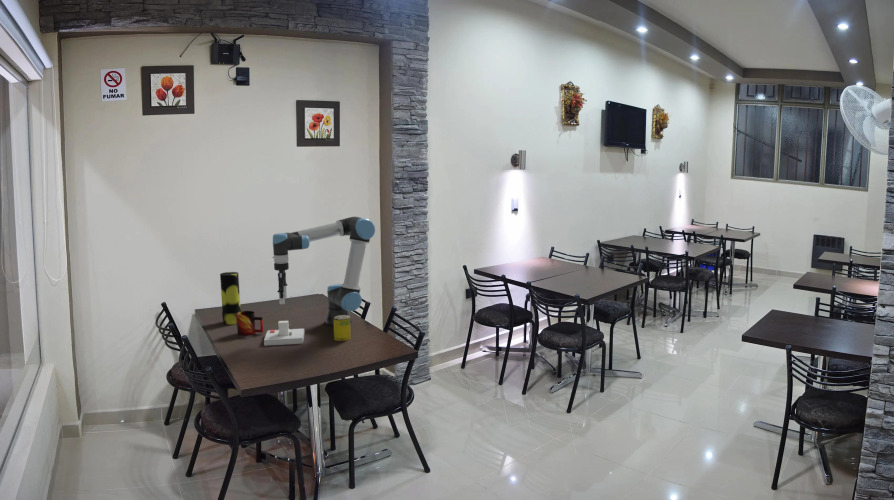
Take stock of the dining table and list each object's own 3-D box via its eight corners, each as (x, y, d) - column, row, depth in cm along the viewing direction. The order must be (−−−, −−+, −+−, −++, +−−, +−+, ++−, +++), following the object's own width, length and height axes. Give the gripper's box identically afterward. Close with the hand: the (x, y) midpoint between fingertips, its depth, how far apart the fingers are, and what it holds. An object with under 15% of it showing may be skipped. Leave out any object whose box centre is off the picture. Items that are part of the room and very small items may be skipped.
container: (226, 325, 365) (223, 276, 360) (220, 322, 373) (217, 273, 368) (244, 322, 371) (241, 273, 367) (237, 318, 380) (234, 271, 375)
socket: (304, 333, 349) (304, 327, 348) (302, 343, 331) (302, 336, 331) (267, 335, 345) (267, 329, 345) (264, 345, 328) (263, 339, 327)
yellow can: (354, 337, 342) (353, 316, 340) (343, 341, 334) (343, 320, 332) (341, 335, 346) (340, 314, 344) (330, 339, 338) (329, 318, 336)
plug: (289, 338, 341) (288, 320, 339) (288, 340, 337) (287, 322, 335) (279, 338, 340) (279, 321, 338) (279, 340, 336) (278, 323, 334)
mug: (263, 334, 348) (262, 313, 346) (237, 336, 344) (236, 316, 342) (263, 329, 357) (261, 309, 355) (237, 332, 353) (236, 311, 351)
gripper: (276, 258, 343) (278, 295, 346) (271, 267, 319) (273, 306, 322) (290, 258, 344) (291, 295, 348) (286, 266, 320) (288, 306, 323)
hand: (283, 300), depth 335 cm, fingers open, 13 cm apart
